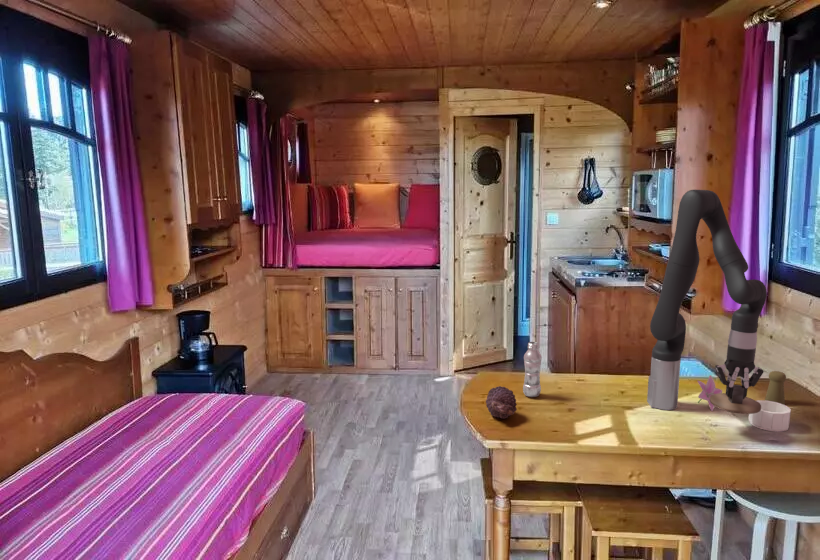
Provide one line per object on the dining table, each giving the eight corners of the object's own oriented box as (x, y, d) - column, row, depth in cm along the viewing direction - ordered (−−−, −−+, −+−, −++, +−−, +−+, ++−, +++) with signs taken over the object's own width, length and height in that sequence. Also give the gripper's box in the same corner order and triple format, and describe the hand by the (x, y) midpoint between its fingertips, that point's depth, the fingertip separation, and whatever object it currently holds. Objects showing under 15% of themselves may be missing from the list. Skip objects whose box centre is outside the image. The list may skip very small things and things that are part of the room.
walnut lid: (719, 412, 180) (721, 393, 178) (703, 394, 193) (705, 377, 192) (768, 415, 178) (771, 396, 176) (749, 397, 191) (751, 379, 190)
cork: (787, 405, 207) (790, 375, 205) (768, 404, 208) (771, 374, 207) (780, 399, 213) (783, 369, 211) (762, 398, 214) (765, 368, 212)
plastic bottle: (543, 394, 219) (545, 342, 216) (536, 400, 213) (538, 346, 210) (526, 391, 223) (528, 339, 219) (519, 397, 217) (521, 344, 213)
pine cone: (480, 406, 208) (480, 379, 207) (507, 405, 209) (508, 378, 208) (492, 427, 191) (493, 397, 189) (522, 425, 192) (523, 396, 190)
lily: (690, 413, 204) (706, 393, 199) (680, 389, 214) (694, 370, 209) (722, 422, 205) (738, 403, 200) (709, 398, 215) (725, 379, 210)
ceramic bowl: (757, 430, 187) (759, 412, 186) (743, 416, 198) (744, 399, 197) (795, 432, 186) (797, 414, 185) (778, 418, 196) (780, 401, 195)
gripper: (722, 346, 179) (716, 401, 182) (772, 349, 177) (765, 404, 180) (713, 339, 186) (707, 392, 190) (761, 342, 184) (754, 394, 188)
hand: (735, 397), depth 185 cm, fingers closed on walnut lid, 3 cm apart
